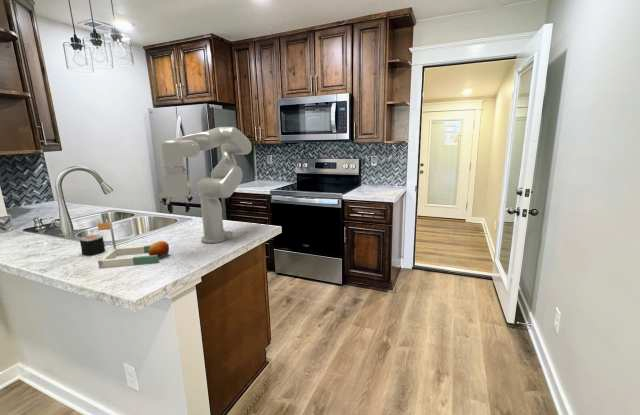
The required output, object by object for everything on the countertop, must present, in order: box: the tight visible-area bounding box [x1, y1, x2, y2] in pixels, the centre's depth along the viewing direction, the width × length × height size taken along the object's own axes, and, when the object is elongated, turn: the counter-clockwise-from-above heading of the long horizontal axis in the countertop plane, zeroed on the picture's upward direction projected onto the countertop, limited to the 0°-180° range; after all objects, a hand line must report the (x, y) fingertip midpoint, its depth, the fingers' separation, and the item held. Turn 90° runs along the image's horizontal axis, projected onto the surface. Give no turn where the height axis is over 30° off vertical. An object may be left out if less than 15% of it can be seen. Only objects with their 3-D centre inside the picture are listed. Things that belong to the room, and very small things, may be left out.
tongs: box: [97, 222, 159, 269], centre depth 128 cm, size 26×15×15 cm, turn 103°
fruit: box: [148, 240, 170, 259], centre depth 132 cm, size 8×8×8 cm
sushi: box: [79, 234, 106, 257], centre depth 137 cm, size 8×8×8 cm
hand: (179, 211), depth 130 cm, fingers open, 5 cm apart
